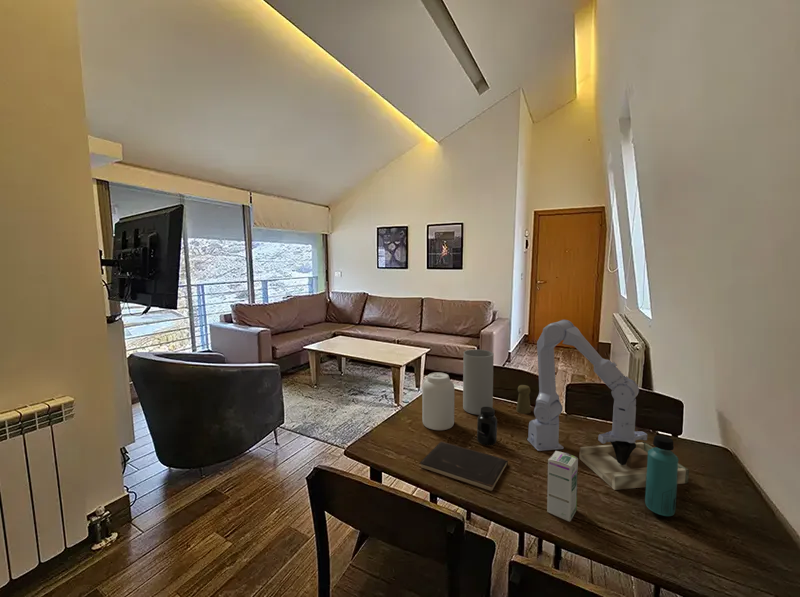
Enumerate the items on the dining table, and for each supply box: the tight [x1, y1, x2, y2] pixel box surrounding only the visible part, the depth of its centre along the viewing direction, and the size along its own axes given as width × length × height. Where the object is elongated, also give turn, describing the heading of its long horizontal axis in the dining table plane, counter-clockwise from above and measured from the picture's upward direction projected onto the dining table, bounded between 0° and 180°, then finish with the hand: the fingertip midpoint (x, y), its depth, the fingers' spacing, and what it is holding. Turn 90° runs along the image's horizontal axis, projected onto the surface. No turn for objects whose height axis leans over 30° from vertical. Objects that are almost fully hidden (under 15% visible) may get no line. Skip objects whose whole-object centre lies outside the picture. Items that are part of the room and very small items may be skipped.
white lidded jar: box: [421, 371, 455, 431], centre depth 141 cm, size 12×12×20 cm
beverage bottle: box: [644, 434, 679, 517], centre depth 90 cm, size 6×7×20 cm
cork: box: [515, 384, 532, 415], centre depth 153 cm, size 6×6×11 cm
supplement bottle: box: [476, 407, 498, 447], centre depth 127 cm, size 7×7×12 cm
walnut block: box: [626, 448, 648, 469], centre depth 109 cm, size 6×4×4 cm, turn 97°
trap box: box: [578, 441, 690, 491], centre depth 109 cm, size 23×16×4 cm
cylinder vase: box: [462, 349, 495, 416], centre depth 154 cm, size 12×12×25 cm
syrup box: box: [546, 450, 579, 523], centre depth 91 cm, size 6×6×14 cm
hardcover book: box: [419, 440, 509, 491], centre depth 112 cm, size 16×23×2 cm
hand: (621, 463), depth 109 cm, fingers closed
